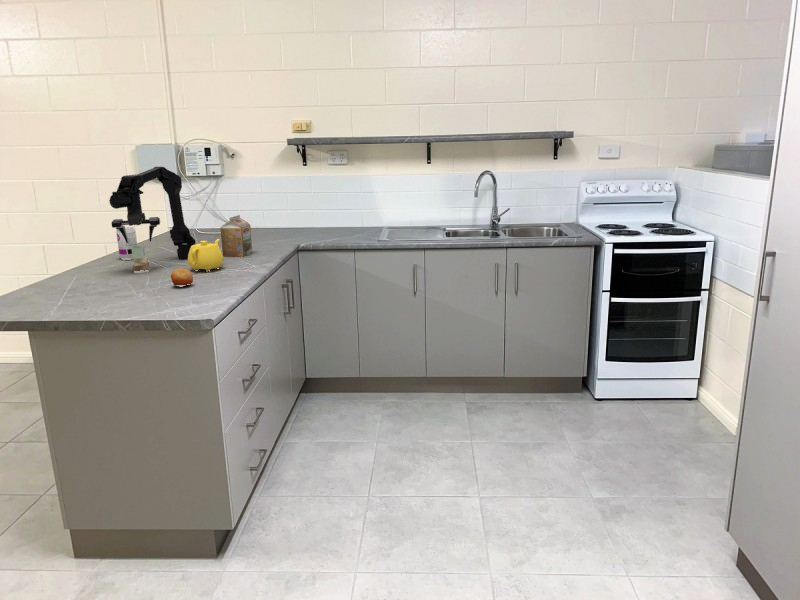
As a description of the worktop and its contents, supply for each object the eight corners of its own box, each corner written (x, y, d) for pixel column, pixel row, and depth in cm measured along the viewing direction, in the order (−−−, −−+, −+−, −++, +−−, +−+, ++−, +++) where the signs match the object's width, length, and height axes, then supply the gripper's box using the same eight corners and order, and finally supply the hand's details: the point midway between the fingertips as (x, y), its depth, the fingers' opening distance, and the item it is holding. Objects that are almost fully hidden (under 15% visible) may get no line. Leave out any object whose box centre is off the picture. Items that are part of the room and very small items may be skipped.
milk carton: (243, 257, 293) (239, 217, 288) (222, 257, 295) (219, 217, 290) (252, 253, 303) (249, 214, 298) (232, 252, 305) (229, 214, 300)
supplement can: (118, 261, 288) (114, 229, 284) (121, 258, 296) (117, 227, 292) (137, 260, 290) (133, 228, 286) (139, 257, 298) (135, 226, 294)
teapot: (180, 273, 261) (177, 243, 258) (209, 263, 279) (206, 236, 276) (207, 274, 257) (204, 244, 253) (235, 265, 275) (232, 237, 272)
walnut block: (149, 270, 268) (148, 262, 268) (148, 273, 263) (147, 265, 262) (135, 271, 267) (134, 263, 266) (133, 274, 261) (132, 266, 260)
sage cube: (145, 256, 266) (144, 246, 264) (144, 258, 261) (142, 247, 260) (134, 257, 264) (132, 246, 263) (132, 258, 260) (131, 248, 259)
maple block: (148, 262, 267) (147, 256, 266) (147, 265, 262) (146, 258, 262) (135, 263, 266) (134, 256, 265) (134, 265, 261) (133, 259, 260)
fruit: (183, 278, 244) (187, 263, 239) (193, 291, 241) (198, 275, 236) (164, 282, 238) (168, 266, 233) (175, 295, 235) (179, 279, 230)
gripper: (107, 209, 249) (112, 247, 253) (156, 206, 254) (161, 243, 258) (110, 206, 259) (116, 242, 263) (157, 203, 264) (162, 239, 268)
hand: (138, 242), depth 263 cm, fingers open, 9 cm apart
